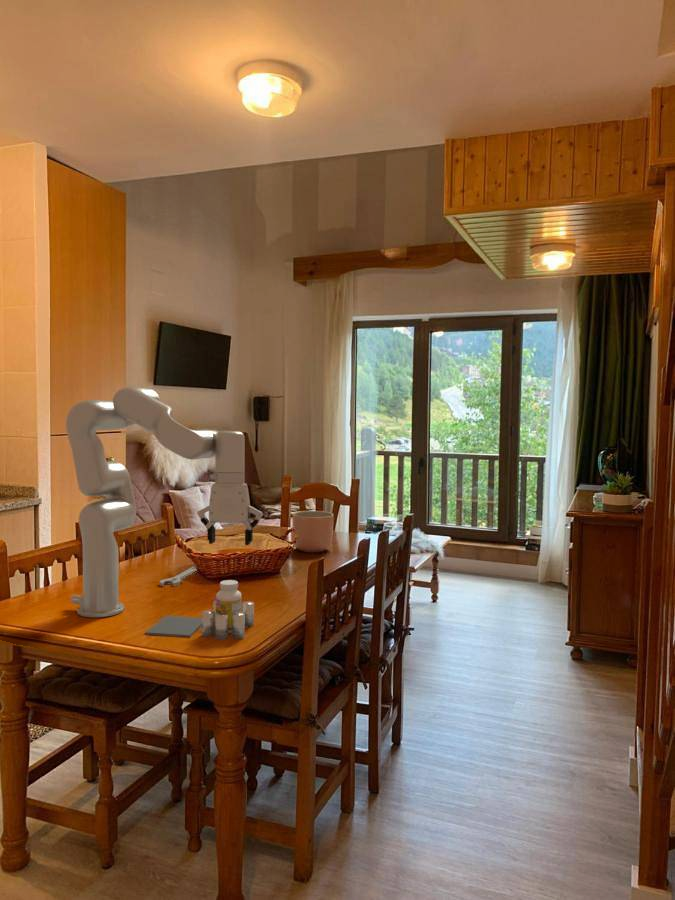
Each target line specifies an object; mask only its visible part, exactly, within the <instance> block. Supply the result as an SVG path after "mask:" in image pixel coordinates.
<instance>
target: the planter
mask: <svg viewBox="0 0 675 900" xmlns="http://www.w3.org/2000/svg"><path fill="white" fill-rule="evenodd" d="M334 519H335V517H334V513H332V512H329V511H324V510H322V511H321V510H302V511H301V510H300V511H296V512H293V513H292V530H293V529H294V530H295V531H296V535H297V539H296V543H295V544H294V545H295V547H296V548H297V549H298V550H299V551H301V552H304V553H311V554H312V553H314V554H315V553H322V552H324V551H326V550H328V549H329V548H330V547H331V545H332V541H333V537H334Z"/></svg>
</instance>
